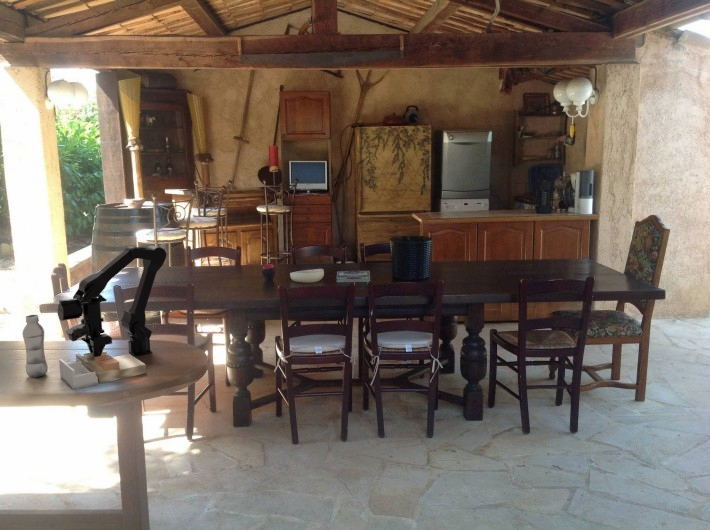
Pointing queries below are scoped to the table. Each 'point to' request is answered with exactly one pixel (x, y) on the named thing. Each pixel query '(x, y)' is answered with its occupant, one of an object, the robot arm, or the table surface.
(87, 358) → the scraper
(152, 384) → the table surface
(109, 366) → the tile
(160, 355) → the table surface
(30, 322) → the plastic bottle
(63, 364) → the box
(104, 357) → the tile
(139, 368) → the board
